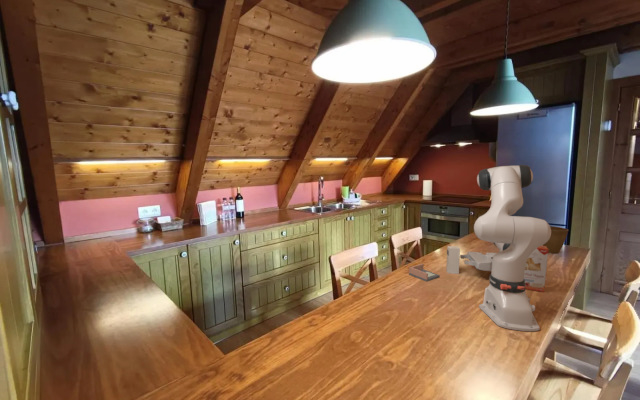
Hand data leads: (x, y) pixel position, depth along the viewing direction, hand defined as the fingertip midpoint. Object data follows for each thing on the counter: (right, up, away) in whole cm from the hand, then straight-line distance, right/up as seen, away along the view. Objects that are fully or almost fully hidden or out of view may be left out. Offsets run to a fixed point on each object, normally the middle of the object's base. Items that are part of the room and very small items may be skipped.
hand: (462, 259), depth 161 cm
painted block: (-5, -8, +2) cm, 9 cm away
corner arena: (-22, -8, -3) cm, 23 cm away
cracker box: (+22, -10, -18) cm, 30 cm away
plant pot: (+76, -2, +36) cm, 84 cm away
